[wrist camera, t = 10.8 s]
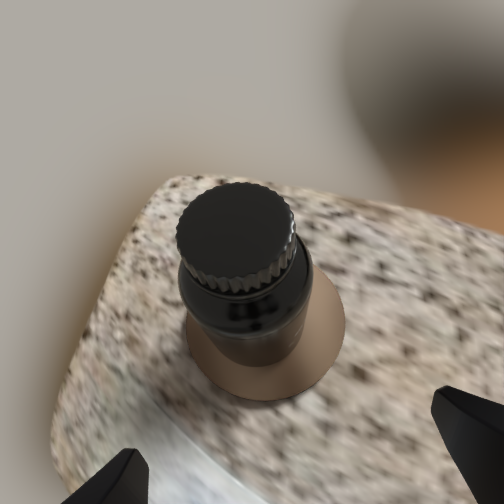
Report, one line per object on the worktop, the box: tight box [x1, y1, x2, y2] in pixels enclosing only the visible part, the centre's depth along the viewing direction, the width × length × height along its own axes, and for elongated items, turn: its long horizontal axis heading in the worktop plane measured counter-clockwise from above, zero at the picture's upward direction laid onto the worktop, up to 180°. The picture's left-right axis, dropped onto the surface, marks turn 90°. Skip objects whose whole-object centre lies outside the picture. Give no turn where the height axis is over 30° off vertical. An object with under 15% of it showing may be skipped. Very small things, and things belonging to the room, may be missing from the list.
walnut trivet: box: [186, 264, 345, 401], centre depth 22 cm, size 12×12×1 cm
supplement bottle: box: [175, 182, 314, 367], centre depth 17 cm, size 7×7×12 cm
